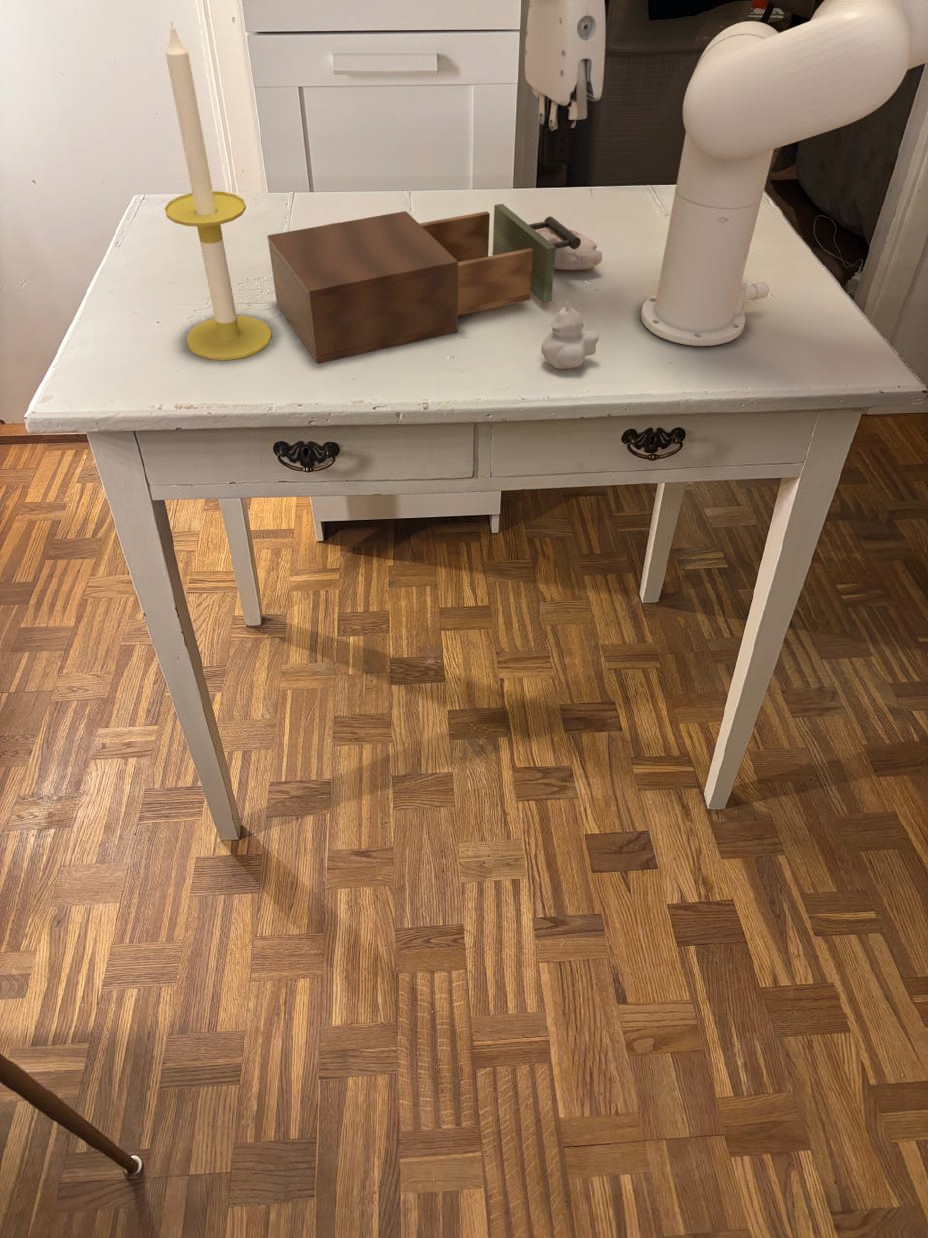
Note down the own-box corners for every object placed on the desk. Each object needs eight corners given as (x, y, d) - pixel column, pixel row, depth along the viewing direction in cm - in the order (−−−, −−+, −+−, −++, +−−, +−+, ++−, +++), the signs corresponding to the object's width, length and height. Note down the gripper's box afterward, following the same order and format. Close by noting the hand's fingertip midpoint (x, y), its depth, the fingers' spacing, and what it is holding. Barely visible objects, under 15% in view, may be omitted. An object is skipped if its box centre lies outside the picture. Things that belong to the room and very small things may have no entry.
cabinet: (408, 278, 121) (406, 210, 115) (457, 332, 112) (458, 261, 105) (276, 304, 116) (267, 234, 109) (317, 363, 106) (309, 290, 100)
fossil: (506, 220, 125) (570, 212, 128) (504, 252, 127) (567, 243, 131) (552, 251, 117) (618, 241, 120) (548, 284, 119) (613, 273, 123)
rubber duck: (534, 354, 108) (539, 289, 102) (588, 349, 109) (597, 285, 103) (546, 379, 105) (552, 313, 99) (602, 374, 106) (611, 308, 100)
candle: (175, 329, 111) (103, 14, 88) (254, 310, 115) (205, 2, 91) (202, 368, 105) (132, 40, 82) (284, 346, 109) (240, 27, 85)
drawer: (537, 248, 126) (541, 196, 121) (591, 292, 117) (597, 238, 112) (385, 278, 119) (382, 224, 114) (429, 328, 110) (429, 272, 105)
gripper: (638, -17, 89) (615, 180, 103) (565, -47, 99) (553, 137, 112) (569, -9, 87) (555, 191, 100) (501, -41, 97) (497, 146, 110)
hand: (554, 162), depth 106 cm, fingers closed
